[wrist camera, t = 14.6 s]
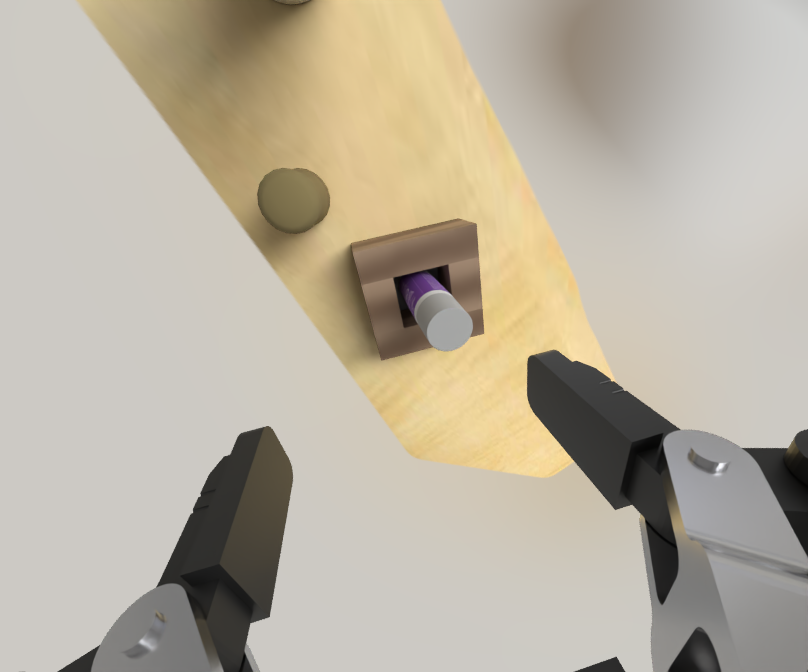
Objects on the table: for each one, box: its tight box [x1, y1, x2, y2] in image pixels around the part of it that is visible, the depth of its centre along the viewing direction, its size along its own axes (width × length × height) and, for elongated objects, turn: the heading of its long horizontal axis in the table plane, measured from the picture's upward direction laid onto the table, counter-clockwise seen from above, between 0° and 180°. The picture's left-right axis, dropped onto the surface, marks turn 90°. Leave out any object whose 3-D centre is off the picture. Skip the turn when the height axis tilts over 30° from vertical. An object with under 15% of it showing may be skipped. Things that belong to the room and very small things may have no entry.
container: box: [399, 270, 473, 351], centre depth 34 cm, size 5×5×15 cm
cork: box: [257, 168, 330, 234], centre depth 30 cm, size 6×6×11 cm
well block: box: [351, 219, 484, 360], centre depth 39 cm, size 14×14×6 cm
